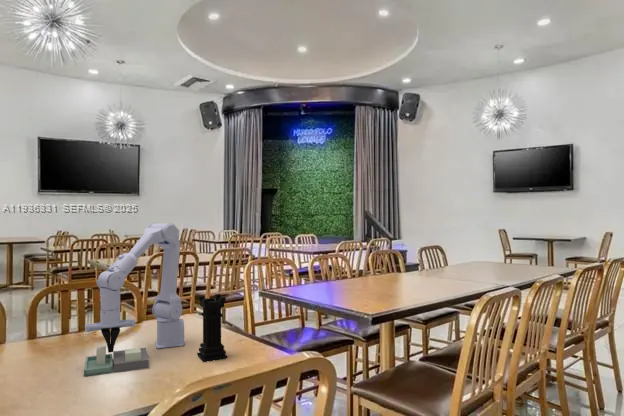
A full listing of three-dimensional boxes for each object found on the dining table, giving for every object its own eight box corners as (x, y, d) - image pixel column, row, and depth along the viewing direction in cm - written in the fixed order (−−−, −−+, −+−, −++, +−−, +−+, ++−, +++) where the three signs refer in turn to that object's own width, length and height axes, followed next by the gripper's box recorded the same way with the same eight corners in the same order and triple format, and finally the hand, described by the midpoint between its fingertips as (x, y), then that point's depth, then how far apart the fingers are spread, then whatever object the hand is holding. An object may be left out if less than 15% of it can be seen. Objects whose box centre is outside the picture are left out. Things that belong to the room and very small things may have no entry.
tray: (112, 359, 149) (112, 353, 149) (112, 372, 137) (112, 366, 137) (86, 362, 146) (86, 356, 146) (83, 376, 134) (83, 370, 134)
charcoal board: (145, 354, 154) (145, 347, 154) (148, 367, 141) (148, 359, 141) (113, 359, 150) (113, 351, 150) (113, 372, 137) (113, 364, 137)
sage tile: (140, 355, 145) (140, 347, 145) (140, 360, 141) (140, 351, 141) (124, 357, 143) (124, 349, 143) (125, 362, 139) (125, 353, 139)
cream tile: (105, 345, 147) (97, 346, 147) (105, 349, 143) (96, 350, 142) (105, 359, 147) (97, 360, 147) (105, 363, 143) (96, 364, 142)
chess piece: (203, 362, 146) (202, 300, 146) (197, 355, 153) (197, 295, 153) (227, 358, 150) (227, 297, 150) (220, 351, 157) (220, 293, 157)
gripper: (133, 304, 152) (133, 344, 152) (84, 308, 146) (84, 351, 146) (136, 308, 146) (136, 350, 146) (85, 313, 139) (85, 357, 139)
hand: (110, 351), depth 145 cm, fingers closed
